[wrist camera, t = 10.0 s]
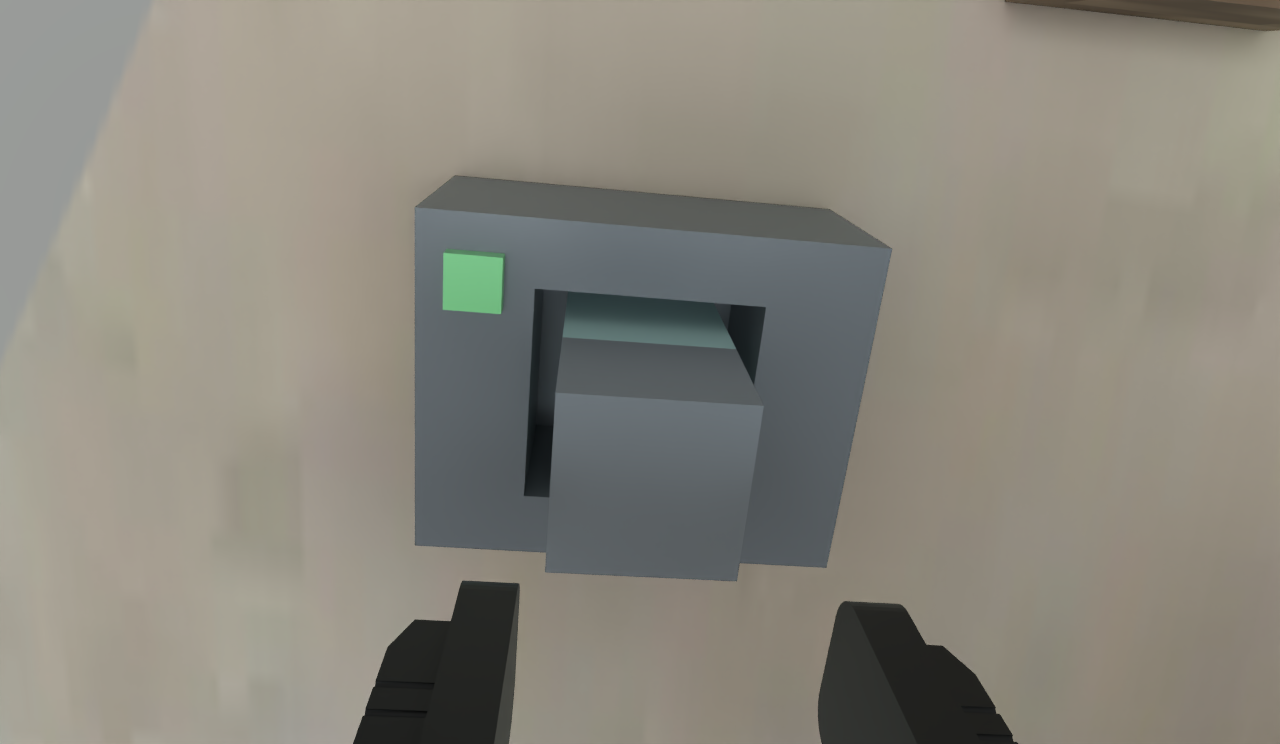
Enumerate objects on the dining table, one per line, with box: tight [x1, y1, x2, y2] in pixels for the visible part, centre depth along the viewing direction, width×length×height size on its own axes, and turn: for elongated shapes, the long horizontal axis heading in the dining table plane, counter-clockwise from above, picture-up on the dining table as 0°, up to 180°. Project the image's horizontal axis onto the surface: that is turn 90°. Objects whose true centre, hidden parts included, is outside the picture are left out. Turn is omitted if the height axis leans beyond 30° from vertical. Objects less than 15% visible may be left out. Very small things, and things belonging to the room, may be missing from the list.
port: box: [415, 176, 892, 568], centre depth 21 cm, size 10×8×5 cm
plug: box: [545, 291, 764, 581], centre depth 18 cm, size 4×4×8 cm
